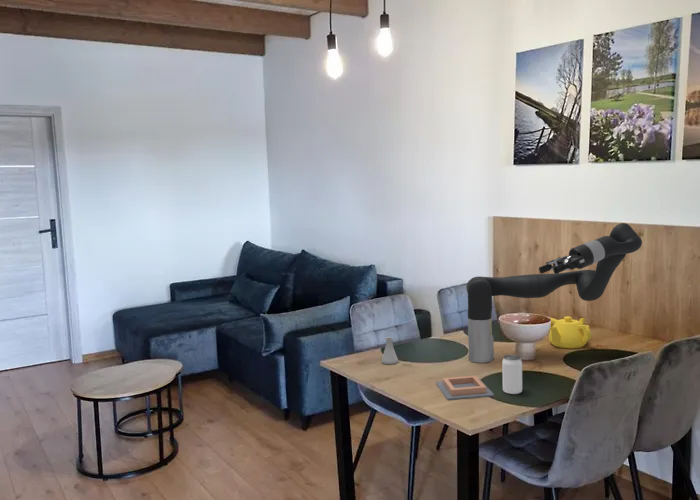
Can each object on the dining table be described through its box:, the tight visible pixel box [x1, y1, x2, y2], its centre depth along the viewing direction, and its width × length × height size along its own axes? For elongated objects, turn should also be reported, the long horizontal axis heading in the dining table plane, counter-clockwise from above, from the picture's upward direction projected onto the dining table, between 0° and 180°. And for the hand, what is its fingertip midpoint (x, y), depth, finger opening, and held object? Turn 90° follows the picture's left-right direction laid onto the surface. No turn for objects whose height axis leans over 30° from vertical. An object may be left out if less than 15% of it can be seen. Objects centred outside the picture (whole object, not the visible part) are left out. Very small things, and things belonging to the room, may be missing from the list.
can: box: [501, 354, 523, 395], centre depth 206 cm, size 6×6×12 cm
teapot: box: [548, 315, 593, 350], centre depth 257 cm, size 17×17×12 cm
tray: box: [435, 375, 495, 401], centre depth 210 cm, size 16×16×3 cm
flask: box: [380, 336, 400, 365], centre depth 245 cm, size 7×7×10 cm
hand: (546, 270), depth 201 cm, fingers open, 8 cm apart
